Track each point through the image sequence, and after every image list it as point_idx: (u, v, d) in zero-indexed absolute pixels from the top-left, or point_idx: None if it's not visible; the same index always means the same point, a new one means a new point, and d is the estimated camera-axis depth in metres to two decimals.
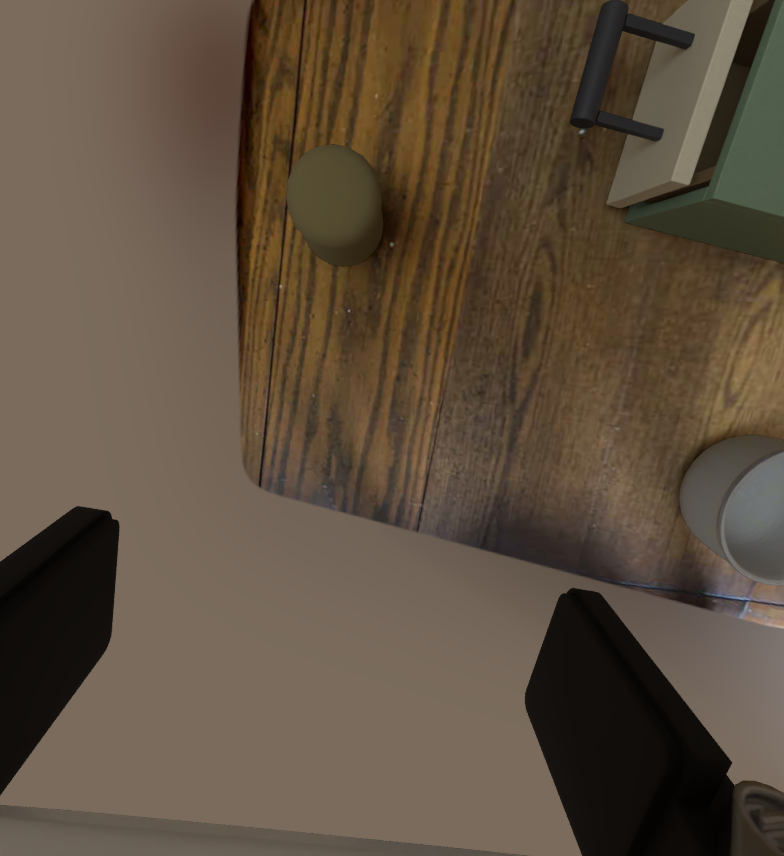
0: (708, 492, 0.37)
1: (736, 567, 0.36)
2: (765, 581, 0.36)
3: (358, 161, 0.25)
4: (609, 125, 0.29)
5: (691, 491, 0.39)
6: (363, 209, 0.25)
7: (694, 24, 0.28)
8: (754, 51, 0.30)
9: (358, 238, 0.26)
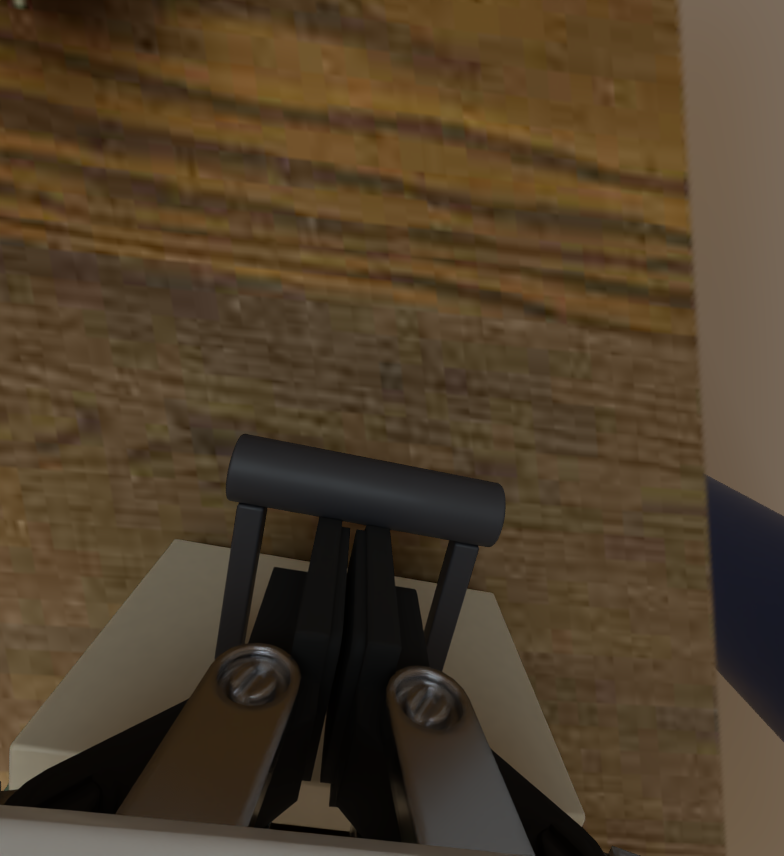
0: None
1: None
2: None
3: None
4: (232, 537, 0.11)
5: None
6: None
7: (458, 683, 0.13)
8: None
9: None
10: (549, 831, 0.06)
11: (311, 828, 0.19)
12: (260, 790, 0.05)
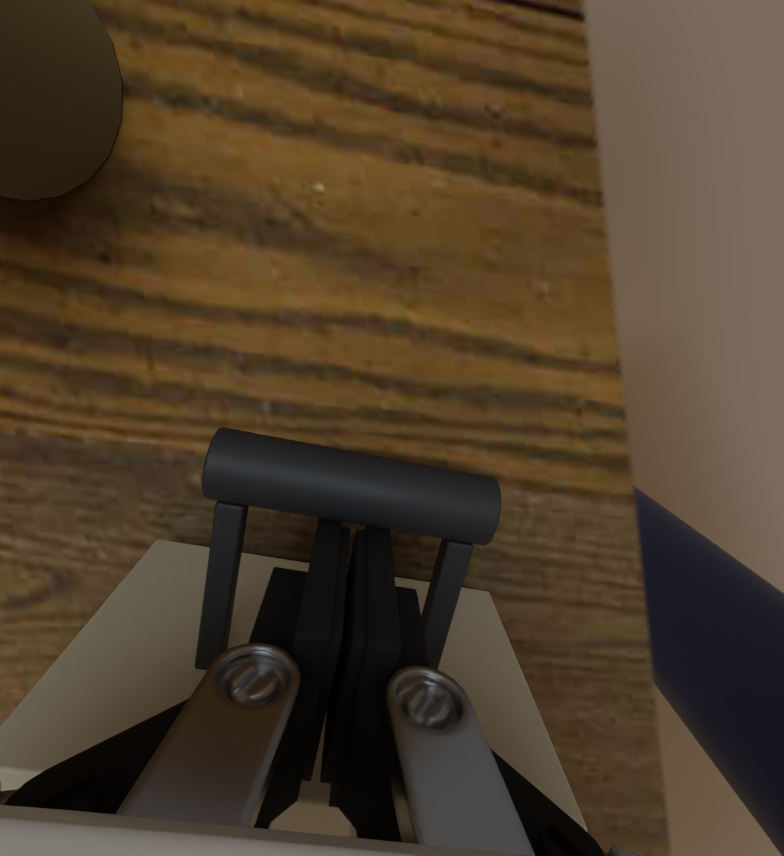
0: None
1: None
2: None
3: None
4: (211, 537, 0.10)
5: None
6: None
7: None
8: None
9: None
10: (549, 831, 0.06)
11: None
12: (260, 790, 0.05)
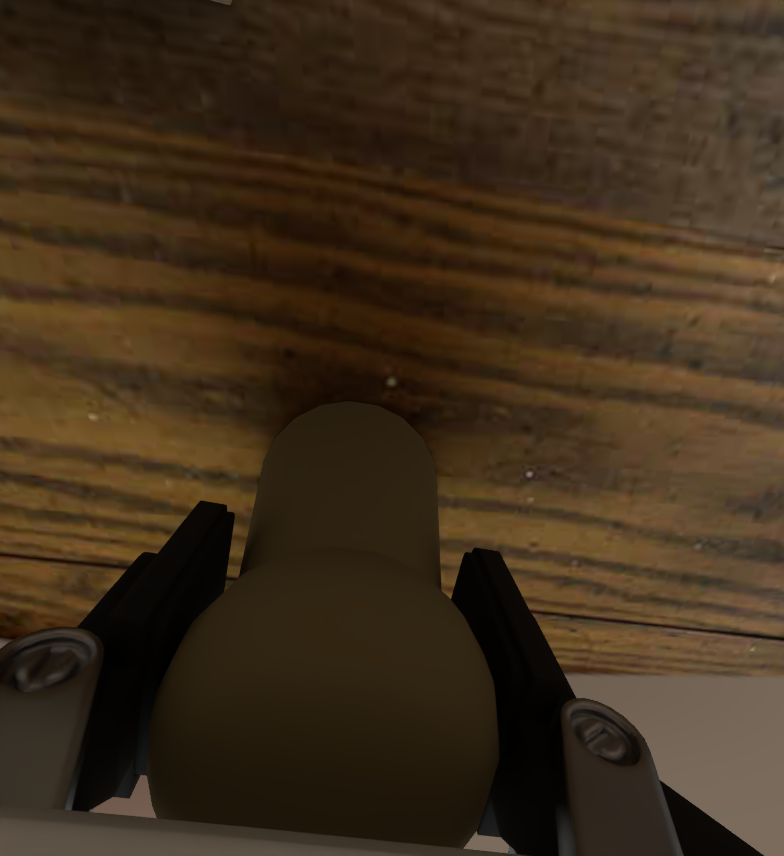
0: None
1: None
2: None
3: (189, 726, 0.06)
4: None
5: None
6: (378, 714, 0.06)
7: None
8: None
9: (476, 679, 0.07)
10: None
11: None
12: (76, 758, 0.05)
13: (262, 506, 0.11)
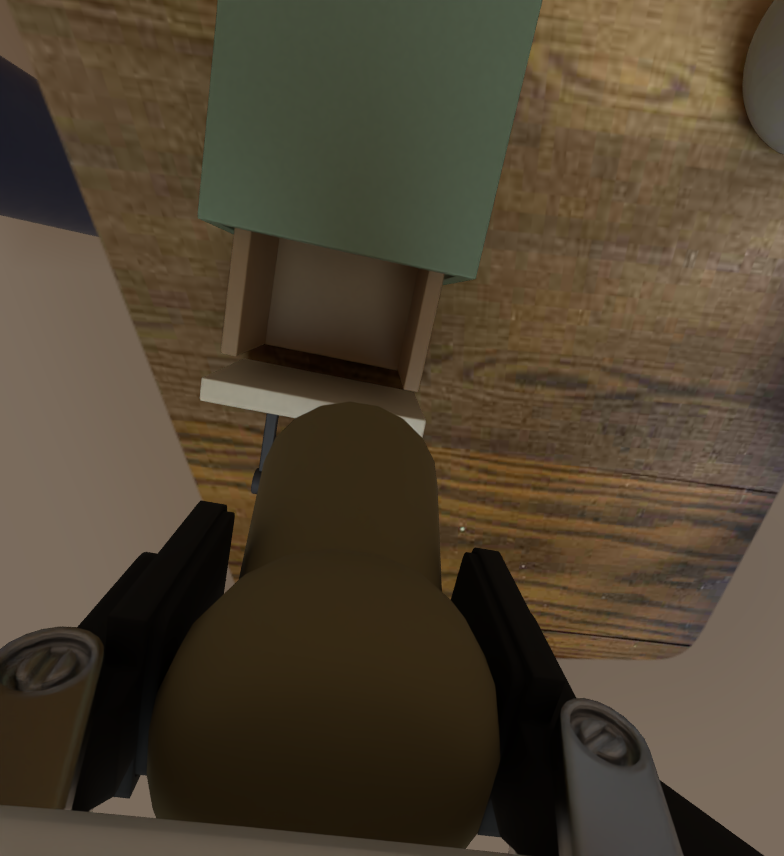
0: None
1: None
2: None
3: (189, 728, 0.06)
4: None
5: None
6: (379, 716, 0.06)
7: None
8: (265, 299, 0.27)
9: (477, 682, 0.07)
10: None
11: None
12: (76, 757, 0.05)
13: (262, 507, 0.11)
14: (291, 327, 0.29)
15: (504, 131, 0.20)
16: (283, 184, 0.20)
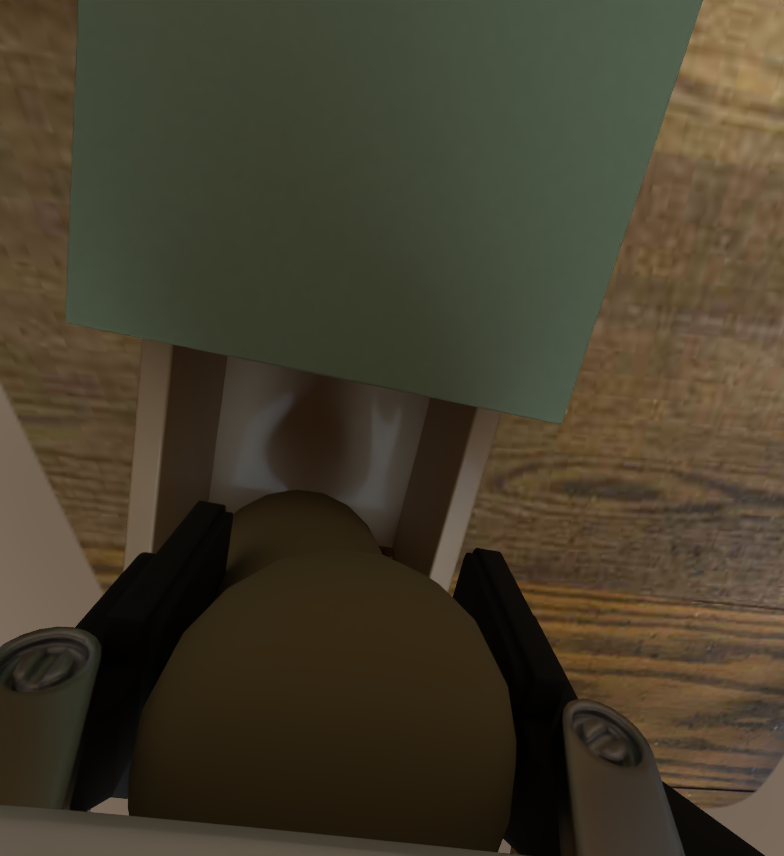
0: None
1: None
2: None
3: (208, 698, 0.05)
4: None
5: None
6: (410, 655, 0.06)
7: None
8: (202, 475, 0.19)
9: (487, 645, 0.07)
10: None
11: None
12: (74, 758, 0.05)
13: None
14: (243, 497, 0.21)
15: (633, 179, 0.11)
16: (227, 265, 0.11)
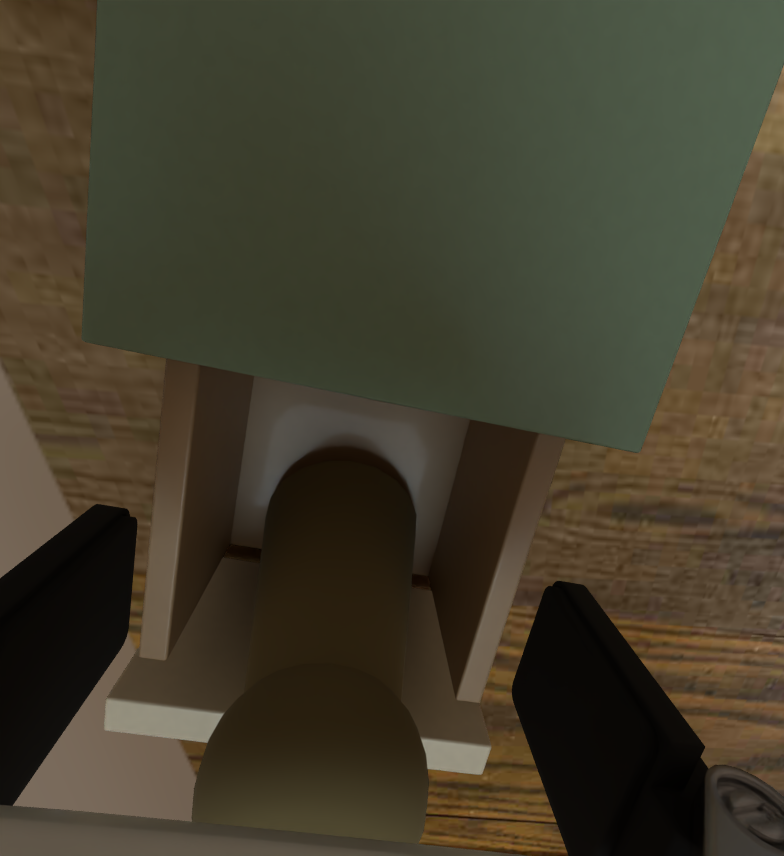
0: None
1: None
2: None
3: (228, 817, 0.09)
4: None
5: None
6: (350, 828, 0.09)
7: None
8: (227, 500, 0.17)
9: (417, 793, 0.10)
10: None
11: None
12: None
13: (272, 578, 0.14)
14: None
15: (733, 170, 0.10)
16: (263, 275, 0.10)
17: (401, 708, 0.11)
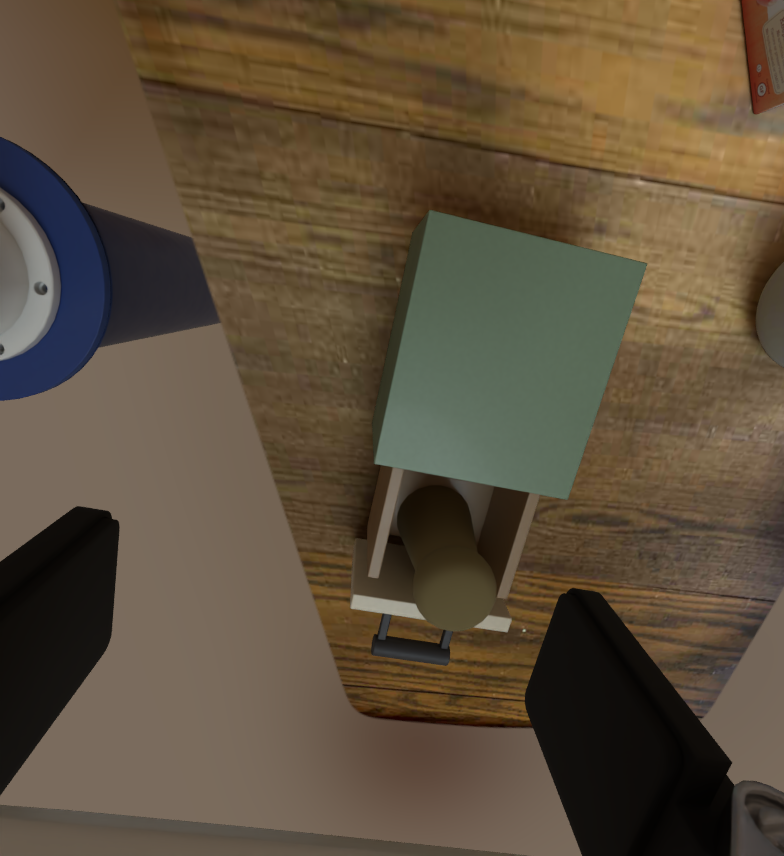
0: None
1: None
2: None
3: (436, 578, 0.28)
4: (450, 639, 0.37)
5: None
6: (475, 580, 0.28)
7: None
8: None
9: (493, 579, 0.29)
10: None
11: None
12: None
13: (420, 528, 0.33)
14: None
15: (594, 407, 0.29)
16: (437, 442, 0.29)
17: None
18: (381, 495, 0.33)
